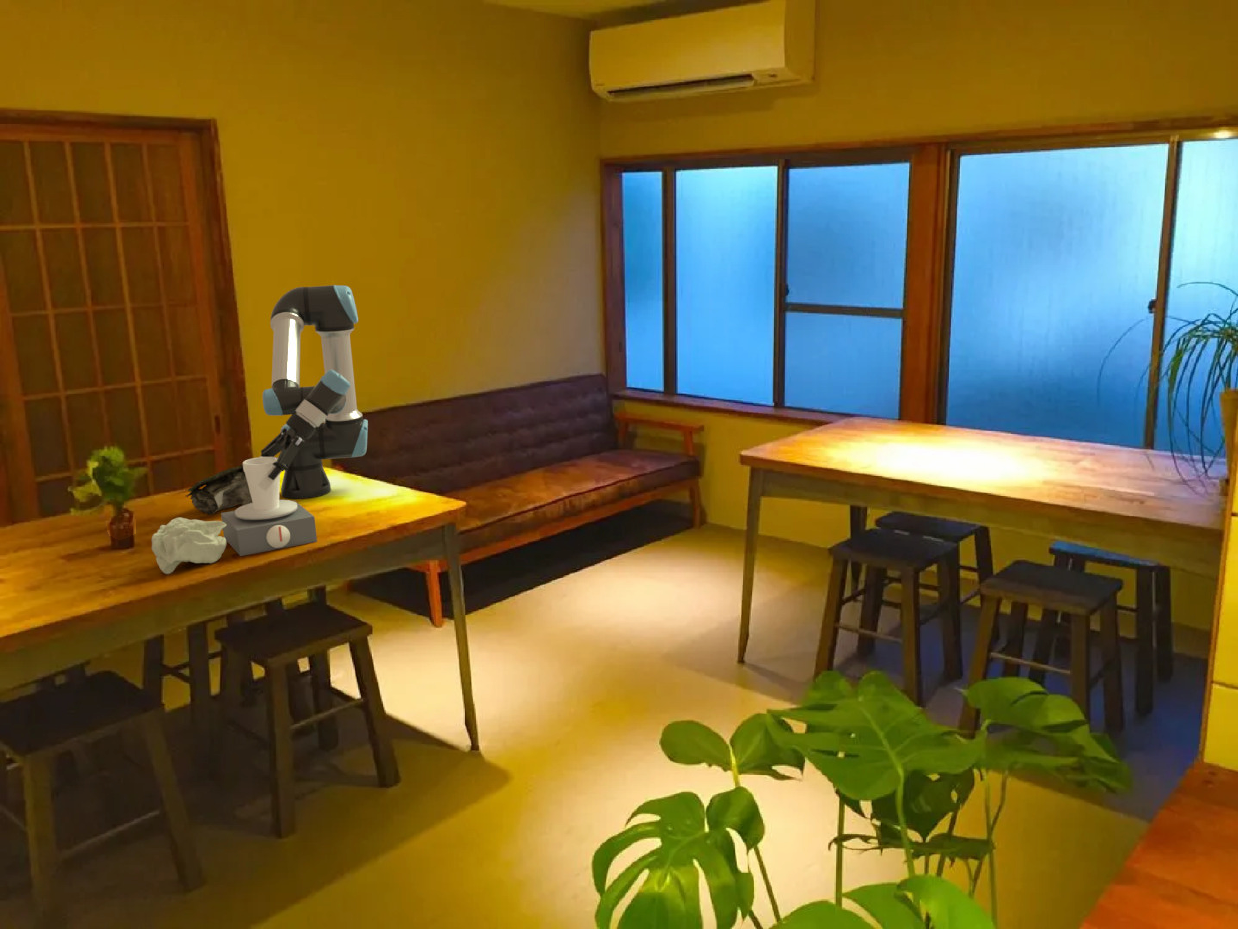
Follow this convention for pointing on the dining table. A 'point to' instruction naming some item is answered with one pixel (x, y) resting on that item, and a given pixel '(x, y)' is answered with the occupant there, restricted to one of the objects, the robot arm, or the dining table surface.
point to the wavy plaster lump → (188, 543)
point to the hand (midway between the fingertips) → (255, 482)
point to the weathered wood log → (221, 491)
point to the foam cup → (254, 474)
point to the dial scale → (268, 527)
